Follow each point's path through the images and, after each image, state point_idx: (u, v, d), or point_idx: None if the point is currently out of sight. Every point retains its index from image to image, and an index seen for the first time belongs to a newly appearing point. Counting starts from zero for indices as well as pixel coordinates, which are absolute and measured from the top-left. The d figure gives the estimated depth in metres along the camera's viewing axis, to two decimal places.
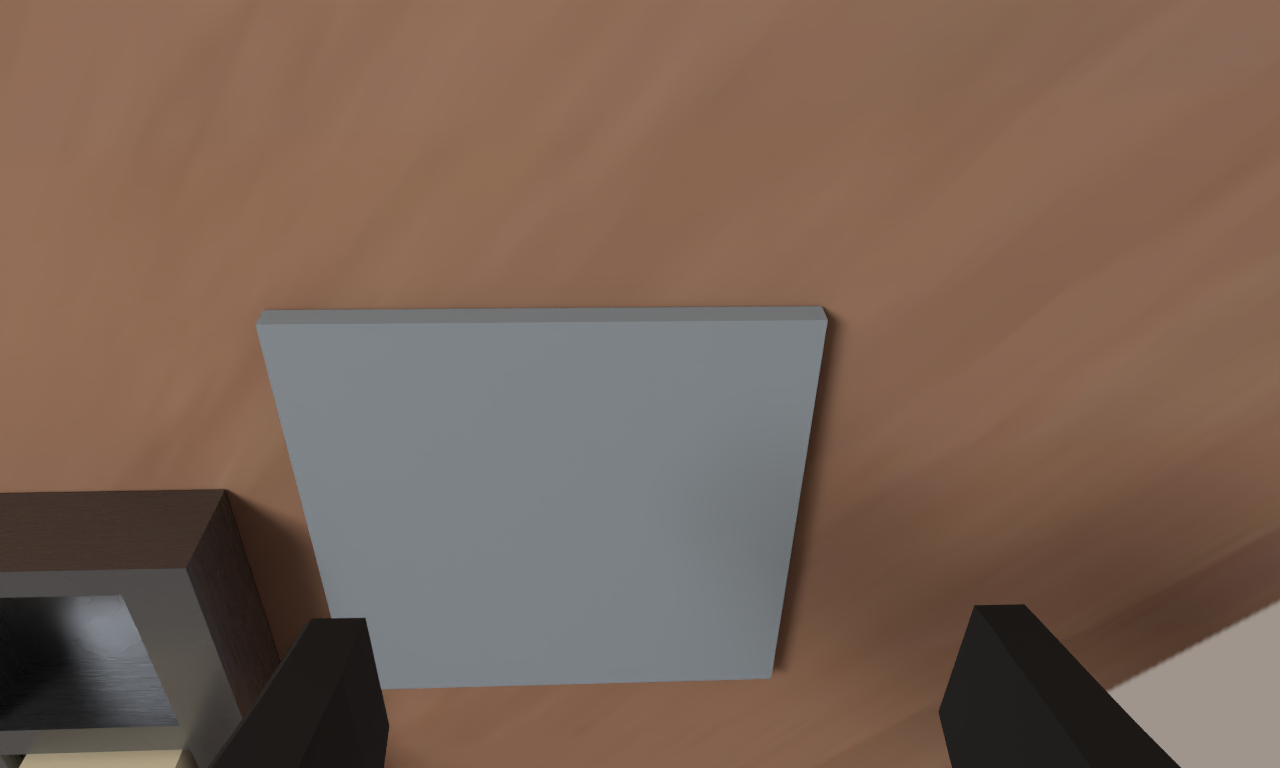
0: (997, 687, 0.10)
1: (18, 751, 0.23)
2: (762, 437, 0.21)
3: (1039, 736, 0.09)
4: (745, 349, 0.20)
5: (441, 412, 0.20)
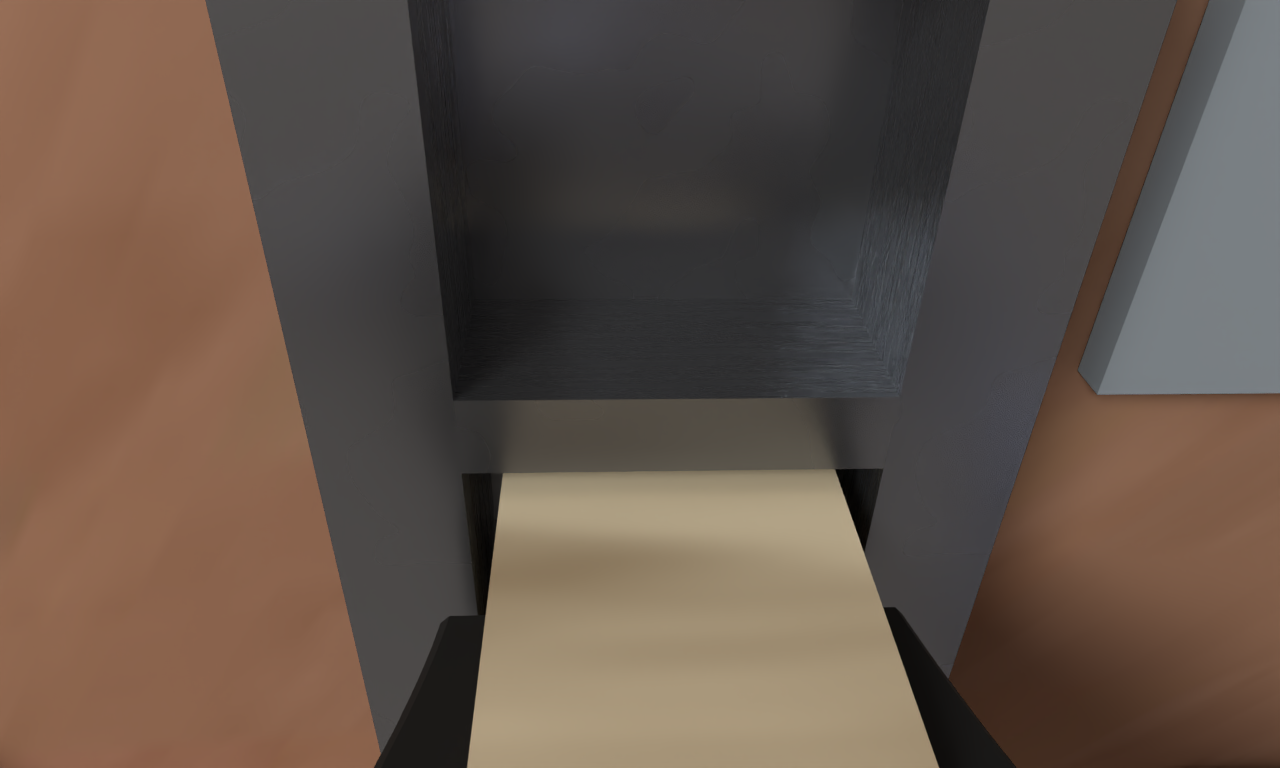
0: None
1: (507, 463, 0.10)
2: None
3: None
4: None
5: None
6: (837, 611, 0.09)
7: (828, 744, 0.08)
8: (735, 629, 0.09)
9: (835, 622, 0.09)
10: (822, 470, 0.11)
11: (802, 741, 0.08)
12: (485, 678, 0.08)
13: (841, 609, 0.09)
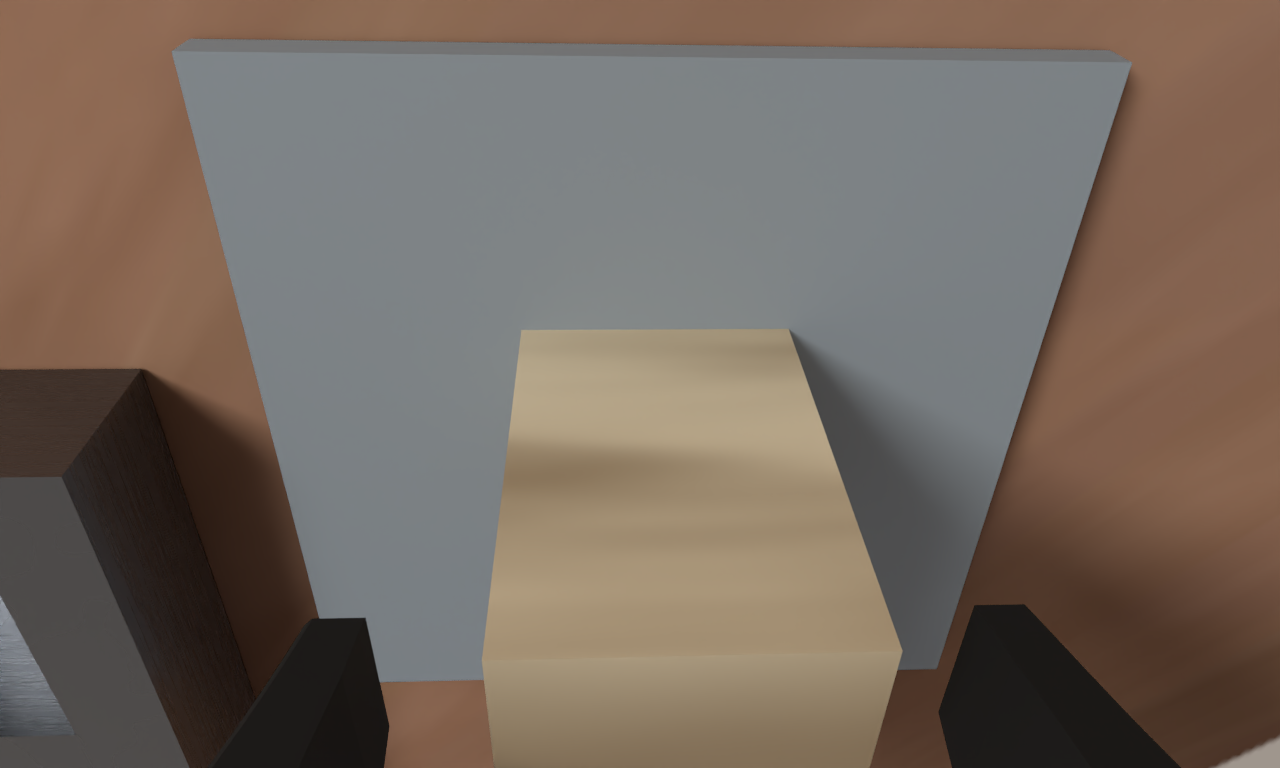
0: (997, 687, 0.10)
1: None
2: (988, 281, 0.13)
3: (1039, 736, 0.09)
4: (987, 117, 0.12)
5: (483, 228, 0.12)
6: (809, 506, 0.10)
7: (798, 607, 0.09)
8: (719, 520, 0.10)
9: (808, 515, 0.10)
10: (800, 395, 0.12)
11: (776, 605, 0.09)
12: (500, 556, 0.10)
13: (813, 505, 0.10)
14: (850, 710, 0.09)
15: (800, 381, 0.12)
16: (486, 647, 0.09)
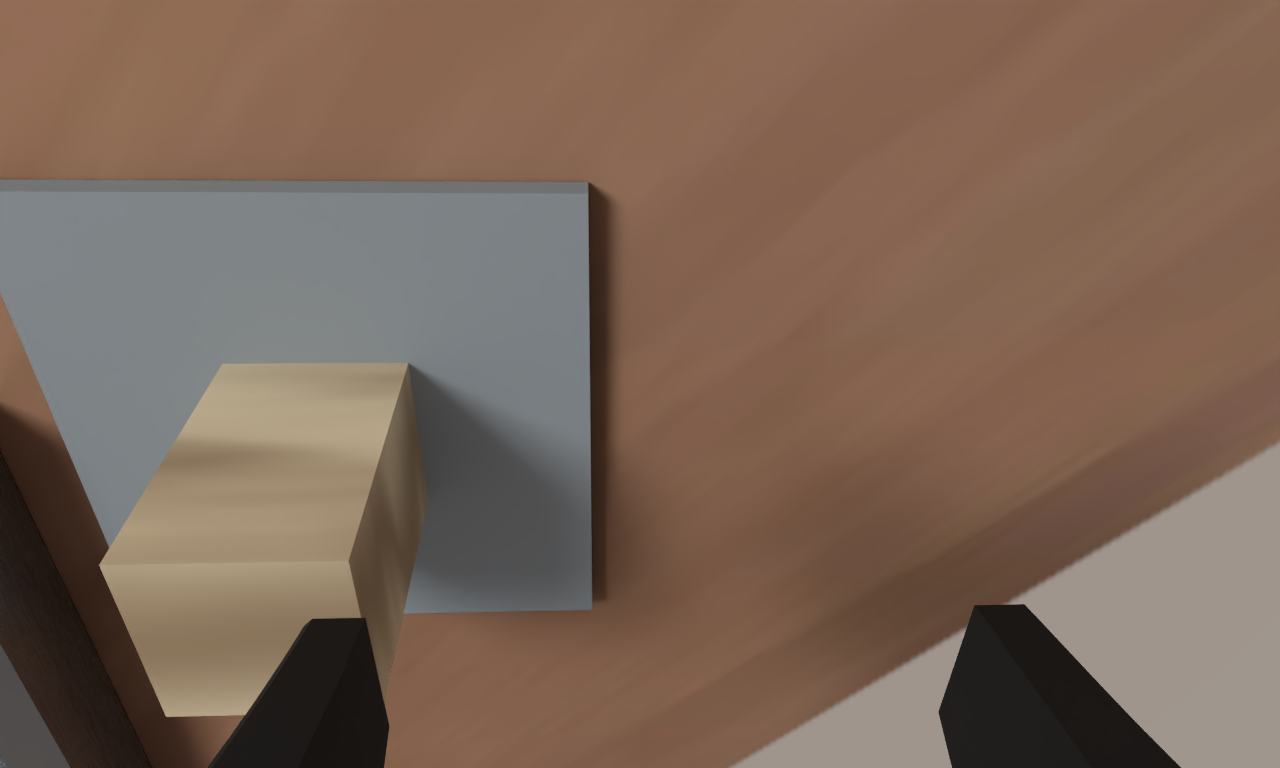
0: (997, 687, 0.10)
1: None
2: (538, 331, 0.20)
3: (1039, 736, 0.09)
4: (503, 227, 0.18)
5: (181, 297, 0.19)
6: (346, 480, 0.17)
7: (302, 537, 0.15)
8: (284, 487, 0.16)
9: (342, 485, 0.16)
10: (385, 409, 0.18)
11: (289, 536, 0.15)
12: (136, 508, 0.16)
13: (349, 479, 0.17)
14: (334, 598, 0.15)
15: (392, 399, 0.19)
16: (105, 558, 0.15)
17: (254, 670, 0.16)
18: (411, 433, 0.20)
